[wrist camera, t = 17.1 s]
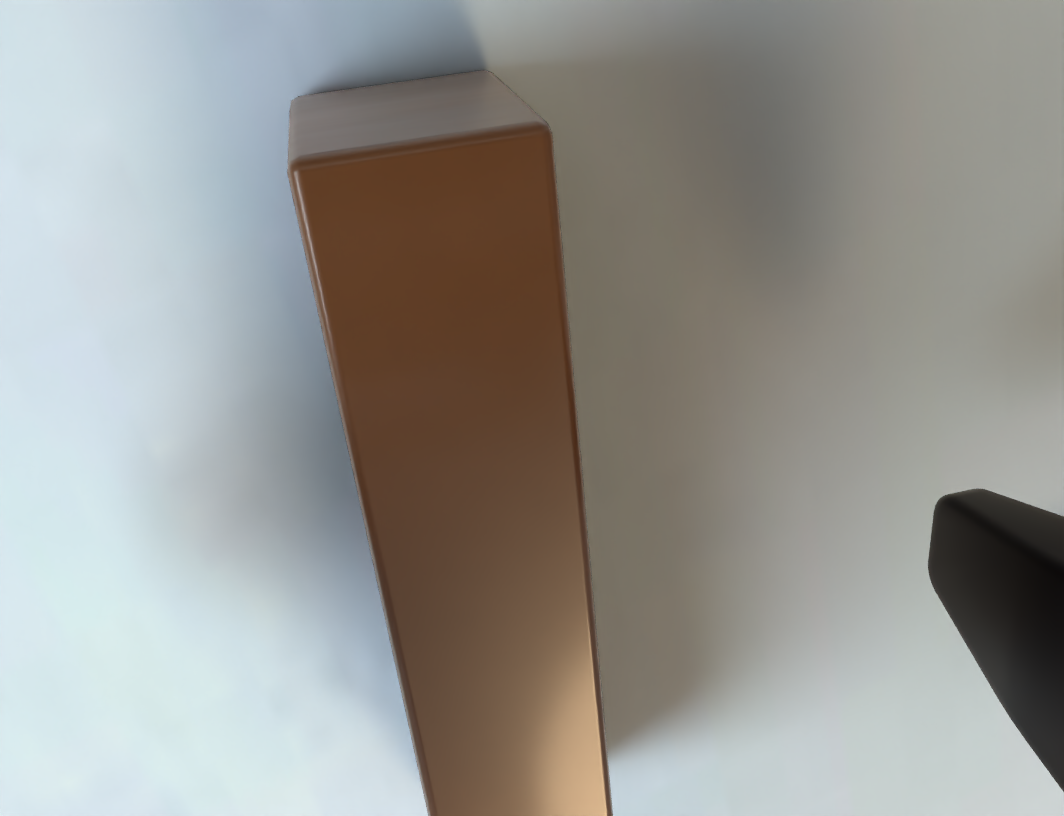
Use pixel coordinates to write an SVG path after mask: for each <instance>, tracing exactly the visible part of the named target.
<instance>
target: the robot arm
mask: <svg viewBox="0 0 1064 816" xmlns="http://www.w3.org/2000/svg"><path fill="white" fill-rule="evenodd" d="M928 570H929V576H930V580H931V583H932V585H933V587H934V589H935V591H936V593H937V595H938V597H939V598H940V600H941V602H942V603H943V605H944V607H945V609H946V610H947V612H948V614H949V615H950V617H951V619H952V621H953V622H954V624H955V626H956V627H957V629H958V631H959V633H960V634H961V636H962V638H963V639H964V641H965V643H966V645H967V646H968V648H969V650H970V651H971V653H972V655H973V656H974V658H975V660H976V662H977V663H978V665H979V667H980V668H981V670H982V672H983V674H984V675H985V677H986V679H987V680H988V682H989V684H990V686H991V687H992V689H993V691H994V692H995V694H996V696H997V697H998V699H999V701H1000V702H1001V704H1002V705H1003V707H1004V709H1005V710H1006V712H1007V713H1008V715H1009V717H1010V718H1011V720H1012V721H1013V723H1014V724H1015V725H1016V727H1017V728H1018V730H1019V731H1020V733H1021V734H1022V735H1023V737H1024V738H1025V740H1026V741H1027V742H1028V744H1029V745H1030V747H1031V748H1032V749H1033V751H1034V752H1035V753H1036V755H1037V756H1038V757H1039V759H1040V760H1041V762H1042V763H1043V764H1044V766H1045V767H1046V768H1047V770H1048V771H1049V772H1050V774H1051V775H1052V777H1053V778H1054V779H1055V781H1056V782H1057V783H1058V785H1059V786H1060V787H1061V789H1062V790H1063V792H1064V517H1063V516H1060V515H1057V514H1054V513H1052V512H1049V511H1046V510H1043V509H1040V508H1037V507H1034V506H1031V505H1028V504H1026V503H1023V502H1020V501H1017V500H1014V499H1011V498H1008V497H1005V496H1002V495H1000V494H997V493H994V492H991V491H988V490H985V489H971V490H967V491H962V492H957V493H953V494H948V495H945V496H943V497H942V498H940V499H939V500H938V502H937V503H936V505H935V509H934V515H933V524H932V533H931V542H930V550H929V559H928Z"/></svg>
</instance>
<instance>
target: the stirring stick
mask: <svg viewBox="0 0 1064 816" xmlns="http://www.w3.org/2000/svg"><path fill="white" fill-rule="evenodd" d="M287 173H288V178H289V183H290V187H291V192H292V196H293V201H294V205H295V210H296V214H297V219H298V224H299V228H300V233H301V237H302V242H303V246H304V251H305V255H306V260H307V265H308V269H309V274H310V278H311V283H312V287H313V292H314V296H315V301H316V306H317V310H318V315H319V319H320V324H321V328H322V333H323V337H324V342H325V347H326V351H327V356H328V360H329V365H330V369H331V374H332V378H333V383H334V387H335V392H336V397H337V401H338V406H339V410H340V415H341V419H342V424H343V428H344V433H345V438H346V442H347V447H348V451H349V456H350V460H351V465H352V469H353V474H354V479H355V483H356V488H357V492H358V497H359V501H360V506H361V510H362V515H363V520H364V524H365V529H366V533H367V538H368V542H369V547H370V551H371V556H372V561H373V565H374V570H375V574H376V579H377V583H378V588H379V592H380V597H381V602H382V606H383V611H384V615H385V620H386V624H387V629H388V633H389V638H390V643H391V647H392V652H393V656H394V661H395V665H396V670H397V674H398V679H399V684H400V688H401V693H402V697H403V702H404V706H405V711H406V715H407V720H408V725H409V729H410V734H411V738H412V743H413V747H414V752H415V756H416V761H417V766H418V770H419V775H420V779H421V784H422V788H423V793H424V797H425V802H426V807H427V811H428V816H613V811H612V800H611V789H610V777H609V766H608V755H607V744H606V732H605V721H604V710H603V699H602V687H601V676H600V665H599V654H598V642H597V631H596V620H595V609H594V597H593V586H592V575H591V564H590V552H589V541H588V530H587V519H586V507H585V496H584V485H583V474H582V462H581V451H580V440H579V429H578V417H577V406H576V395H575V384H574V372H573V361H572V350H571V338H570V327H569V316H568V305H567V293H566V282H565V271H564V260H563V248H562V237H561V226H560V215H559V203H558V192H557V181H556V170H555V158H554V147H553V136H552V131H551V129H550V128H549V126H548V124H547V122H545V121H544V120H543V119H542V118H541V117H540V116H539V115H538V114H537V113H536V112H535V111H533V110H532V109H531V108H530V107H529V106H528V105H527V104H526V103H525V102H524V101H523V100H522V99H520V98H519V97H518V96H517V95H516V94H515V93H514V92H513V91H512V90H511V89H510V88H508V87H507V86H506V85H505V84H504V83H503V82H502V81H501V80H500V79H499V78H498V77H496V76H495V75H494V74H493V73H492V72H489V71H485V70H481V71H474V72H467V73H460V74H453V75H446V76H438V77H431V78H424V79H417V80H410V81H403V82H396V83H389V84H382V85H375V86H367V87H360V88H353V89H346V90H339V91H332V92H325V93H318V94H311V95H304V96H298V97H297V98H295V99H293V100H292V101H291V105H290V114H289V141H288V169H287Z"/></svg>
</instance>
